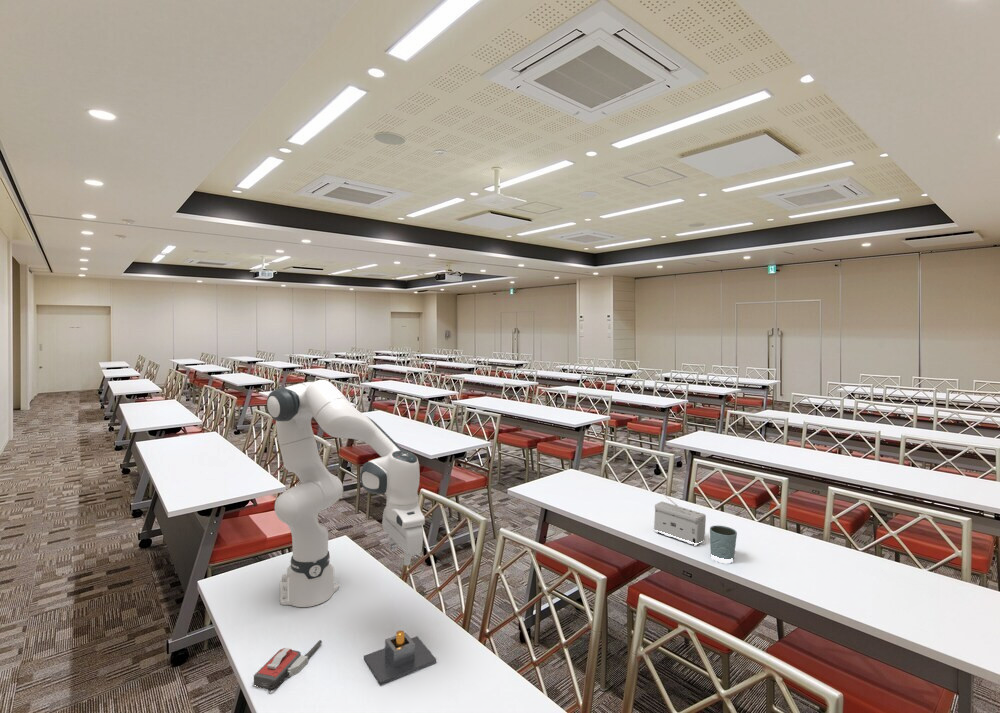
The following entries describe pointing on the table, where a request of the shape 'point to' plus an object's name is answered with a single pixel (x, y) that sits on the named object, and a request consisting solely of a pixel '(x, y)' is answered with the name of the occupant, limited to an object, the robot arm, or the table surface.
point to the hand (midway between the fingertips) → (399, 556)
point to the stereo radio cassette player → (679, 521)
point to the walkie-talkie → (281, 667)
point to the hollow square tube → (399, 651)
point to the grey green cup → (722, 541)
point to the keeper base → (386, 671)
